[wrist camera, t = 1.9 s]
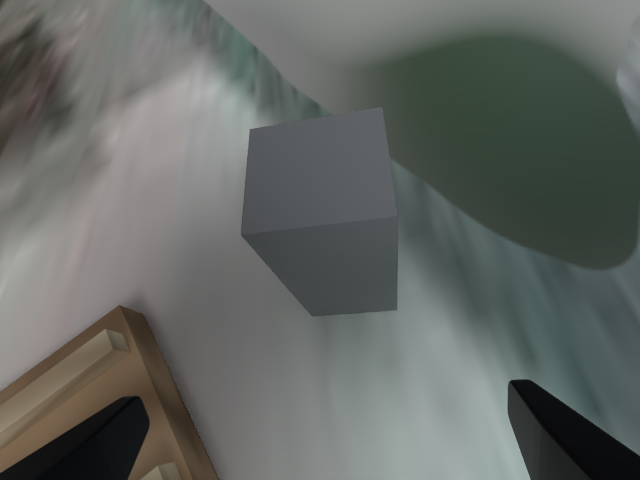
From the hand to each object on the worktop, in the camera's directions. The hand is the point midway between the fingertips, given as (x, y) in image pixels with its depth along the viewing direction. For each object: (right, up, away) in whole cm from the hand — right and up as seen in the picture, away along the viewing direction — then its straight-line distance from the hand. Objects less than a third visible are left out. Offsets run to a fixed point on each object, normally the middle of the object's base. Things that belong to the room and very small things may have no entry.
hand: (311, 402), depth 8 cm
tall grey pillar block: (+2, +1, +15) cm, 15 cm away
